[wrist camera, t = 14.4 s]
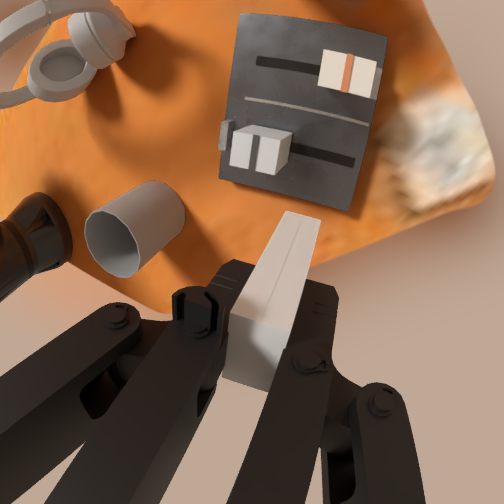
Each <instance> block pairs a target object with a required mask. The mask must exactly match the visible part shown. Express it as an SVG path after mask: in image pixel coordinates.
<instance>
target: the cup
mask: <svg viewBox="0 0 504 504" xmlns="http://www.w3.org/2000/svg"><path fill="white" fill-rule="evenodd" d="M185 221H186V218H185V209H184V205H183V203H182V201H181V199H180V197H179V196H178V194H177V193H176V192H175V191H174V190H173V189H172V188H171V187H170V186H168V185H167V184H165V183H162V182H158V181H155V180H154V181H150V182H146V183H143V184H141V185H139V186H137V187H135V188H133V189H132V190H130V191H128V192H126V193H124V194H123V195H121V196H119V197H117V198H115V199H114V200H112V201H110V202H108V203H107V204H105V205H103V206H102V207H100V208H98V209H96V210H95V211H93V212H92V213H91V214H90V215H89V217H88V218H87V220H86V221H85V231H84V235H85V238H86V242H87V246H88V249H89V250H90V252H91V254H92V256H93V257H94V259H95V261H96V262H97V263H98V264H99V265H100V266H101V267H102V268H103V269H104V270H105V271H106V272H108V273H110V274H112V275H114V276H116V277H118V278H130V277H131V276H132V275H133V274H135V273H136V272H137V271H138V270H139V269H140V268H141V267H143V266H144V265H145V264H146V263H147V262H148V261H149V260H150V259H151V258H152V257H154V256H155V255H156V254H157V253H158V252H159V251H160V250H161V249H162V248H163V247H165V246H166V245H167V244H168V243H169V242H170V241H171V240H172V239H174V238H175V237H176V236H177V235H178V234H179V233H180V232H182V229H183V226H184V224H185Z"/></svg>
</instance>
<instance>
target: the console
mask: <svg viewBox="0 0 504 504" xmlns="http://www.w3.org/2000/svg"><path fill="white" fill-rule="evenodd" d="M387 41H388V37H387V36H384V35H380V34H377V33H373V32H369V31H365V30H361V29H357V28H352V27H348V26H343V25H338V24H333V23H328V22H322V21H316V20H310V19H303V18H295V17H287V16H277V15H266V14H251V13H240V17H239V23H238V29H237V36H236V42H235V49H234V56H233V63H232V70H231V77H230V85H229V92H228V100H227V108H226V116H225V120H222V121H221V127H220V136H219V145H218V150H221V159H220V168H219V178H218V179H223V180H227V181H232V182H236V183H240V184H244V185H249V186H253V187H257V188H261V189H265V190H269V191H273V192H277V193H281V194H285V195H288V196H292V197H296V198H300V199H304V200H307V201H311V202H315V203H318V204H322V205H325V206H329V207H332V208H336V209H339V210H343V211H346V212H349V208H350V205H351V201H352V198H353V194H354V190H355V187H356V183H357V179H358V176H359V172H360V168H361V164H362V160H363V156H364V152H365V148H366V144H367V140H368V136H369V132H370V127H371V123H372V118H373V114H374V109H375V105H376V100H377V95H378V90H379V86H380V81H381V75H382V70H383V64H384V59H385V53H386V47H387ZM324 49H325V50H330V51H335V52H340V53H344V54H347V53H348V54H352V55H354V56H357V57H361V58H365V59H368V60H372V61H376V62H377V63H376V68H375V74H374V79H373V84H372V89H371V94H370V98H366V97H363V96H359V95H355V94H351V93H348V92H347V93H346V92H342V91H339V90H335V89H331V88H326V87H322V86H318V80H319V74H320V68H321V63H322V57H323V51H324ZM250 125H257V126H262V127H267V128H272V129H277V130H282V131H287V132H292V133H293V134H292V139H291V145H290V150H289V156H288V161H287V163H286V164H285V165H284V166H283V167H282V168H281V169H280V170H279V171H278V172H277V173H276V174H275V175H271V174H267V173H262V172H258V171H254V172H253V171H249V170H248V169H245V168H240V167H236V166H231V165H229V164H230V156H231V147H232V139H233V131H236V130H239V129H241V128H244V127H247V126H250Z"/></svg>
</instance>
